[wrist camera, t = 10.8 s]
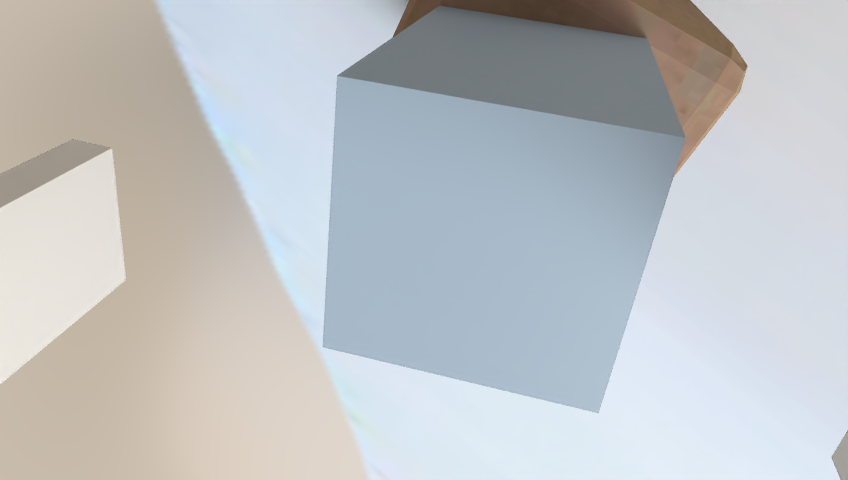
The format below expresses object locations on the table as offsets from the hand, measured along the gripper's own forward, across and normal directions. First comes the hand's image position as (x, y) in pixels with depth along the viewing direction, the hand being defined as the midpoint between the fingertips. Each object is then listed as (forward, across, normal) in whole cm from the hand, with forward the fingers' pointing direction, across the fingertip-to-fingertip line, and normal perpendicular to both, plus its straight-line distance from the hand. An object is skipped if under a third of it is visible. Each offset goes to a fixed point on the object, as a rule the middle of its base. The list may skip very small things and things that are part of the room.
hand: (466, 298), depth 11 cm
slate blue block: (+11, 0, 0) cm, 11 cm away
